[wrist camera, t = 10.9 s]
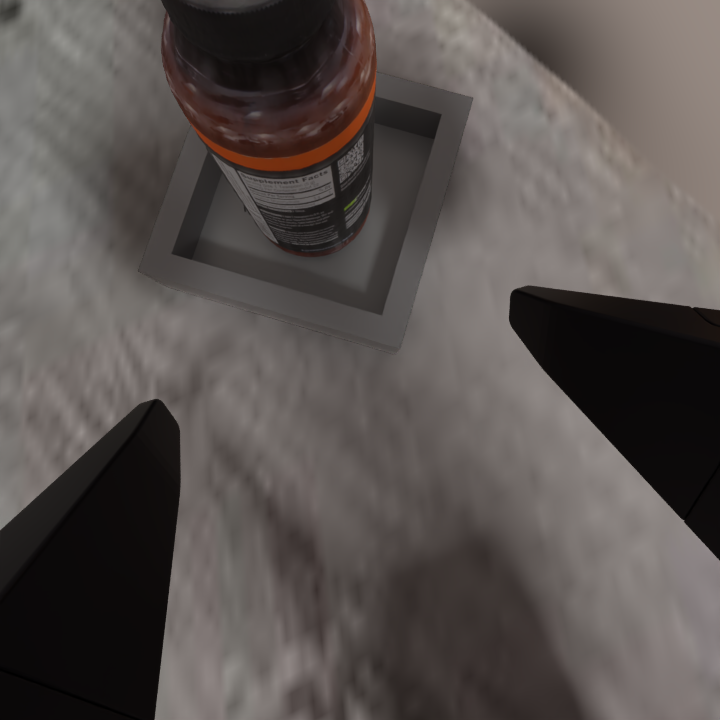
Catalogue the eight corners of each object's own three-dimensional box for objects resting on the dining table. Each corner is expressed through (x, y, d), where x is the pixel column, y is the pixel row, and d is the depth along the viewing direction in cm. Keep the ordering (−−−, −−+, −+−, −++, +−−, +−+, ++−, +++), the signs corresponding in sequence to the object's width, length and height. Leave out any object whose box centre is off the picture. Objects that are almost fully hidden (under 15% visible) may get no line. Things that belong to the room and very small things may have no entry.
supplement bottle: (267, 140, 19) (122, -248, 7) (381, 161, 18) (410, -203, 7) (242, 250, 18) (44, 16, 7) (358, 272, 18) (353, 70, 7)
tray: (459, 135, 19) (473, 97, 17) (395, 354, 18) (400, 348, 16) (242, 76, 20) (224, 31, 17) (167, 287, 19) (137, 271, 16)
